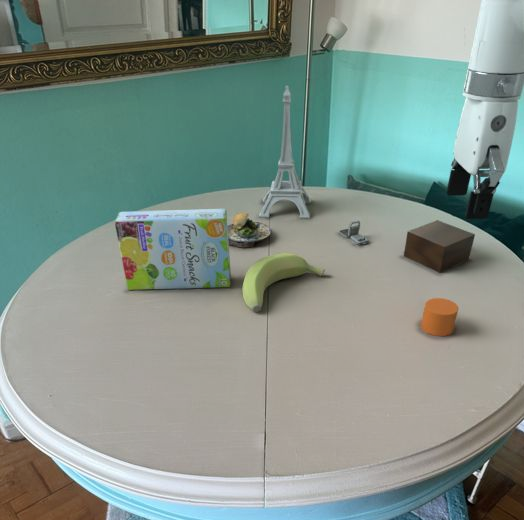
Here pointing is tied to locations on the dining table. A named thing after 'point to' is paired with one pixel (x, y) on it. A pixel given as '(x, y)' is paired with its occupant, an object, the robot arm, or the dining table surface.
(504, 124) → the robot arm
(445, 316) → the orange puck
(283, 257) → the banana
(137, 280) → the snack box
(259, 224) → the burger
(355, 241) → the strap clip
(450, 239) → the walnut block
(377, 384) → the dining table surface
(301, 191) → the eiffel tower
